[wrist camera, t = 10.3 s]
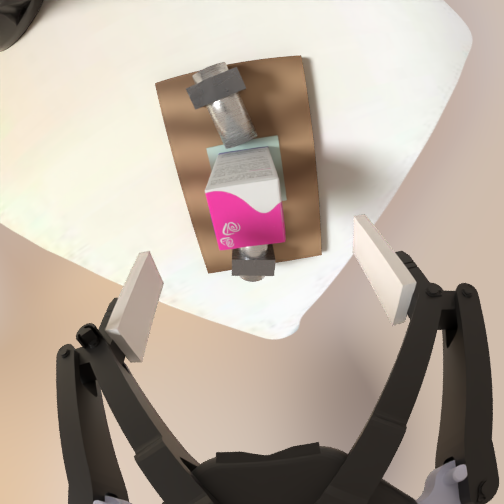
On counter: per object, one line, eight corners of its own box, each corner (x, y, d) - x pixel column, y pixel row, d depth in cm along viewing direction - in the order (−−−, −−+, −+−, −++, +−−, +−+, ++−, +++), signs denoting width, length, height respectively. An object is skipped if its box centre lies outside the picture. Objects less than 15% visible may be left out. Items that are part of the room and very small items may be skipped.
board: (157, 83, 25) (154, 83, 24) (298, 56, 24) (301, 55, 23) (209, 268, 39) (208, 274, 38) (319, 250, 38) (321, 255, 37)
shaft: (232, 206, 33) (231, 221, 30) (275, 207, 33) (279, 221, 30) (232, 264, 38) (232, 282, 35) (270, 265, 38) (273, 282, 35)
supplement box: (215, 153, 29) (203, 188, 20) (268, 145, 29) (283, 175, 19) (225, 199, 32) (218, 253, 23) (274, 192, 32) (290, 243, 22)
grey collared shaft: (188, 80, 24) (180, 79, 21) (233, 61, 24) (232, 57, 20) (219, 147, 29) (216, 154, 26) (263, 130, 28) (266, 135, 25)
